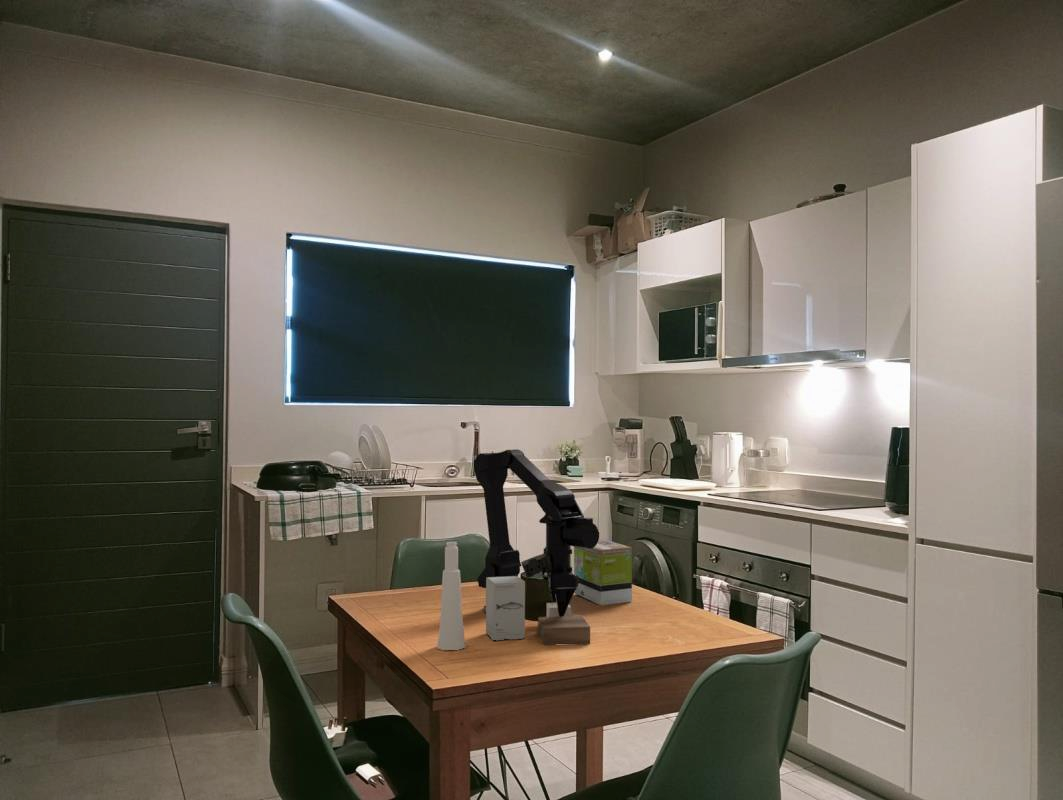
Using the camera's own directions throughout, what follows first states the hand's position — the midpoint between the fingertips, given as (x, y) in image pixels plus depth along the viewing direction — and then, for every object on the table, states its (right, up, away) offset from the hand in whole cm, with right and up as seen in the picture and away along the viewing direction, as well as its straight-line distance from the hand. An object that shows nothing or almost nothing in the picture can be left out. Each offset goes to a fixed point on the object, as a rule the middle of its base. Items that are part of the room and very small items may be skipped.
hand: (558, 611), depth 190 cm
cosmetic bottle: (-23, -3, -18) cm, 29 cm away
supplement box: (-12, -3, -9) cm, 15 cm away
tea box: (+13, -4, +29) cm, 32 cm away
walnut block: (+1, -4, -11) cm, 11 cm away
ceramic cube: (0, -4, 0) cm, 4 cm away
